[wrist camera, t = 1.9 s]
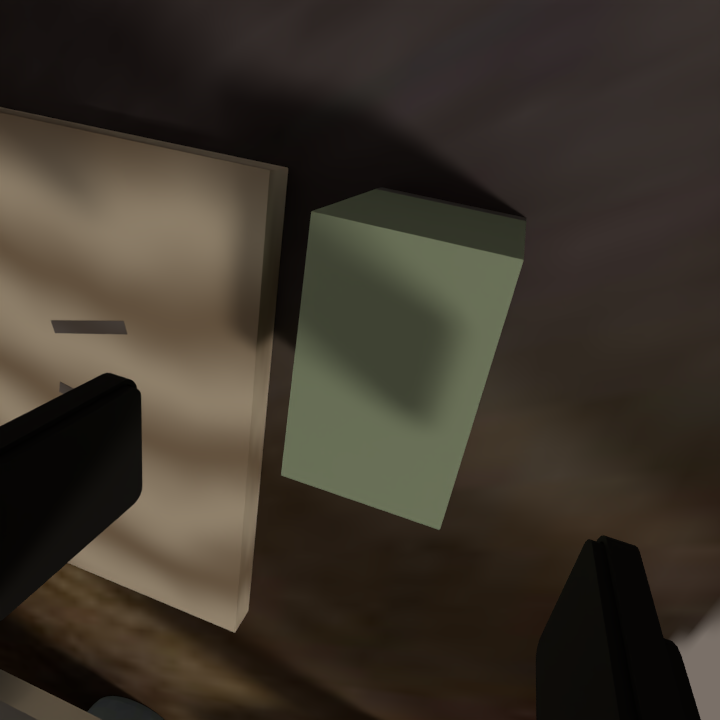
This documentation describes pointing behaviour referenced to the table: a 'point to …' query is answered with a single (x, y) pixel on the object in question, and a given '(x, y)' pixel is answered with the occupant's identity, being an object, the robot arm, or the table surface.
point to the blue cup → (121, 709)
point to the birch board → (149, 334)
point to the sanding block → (396, 345)
